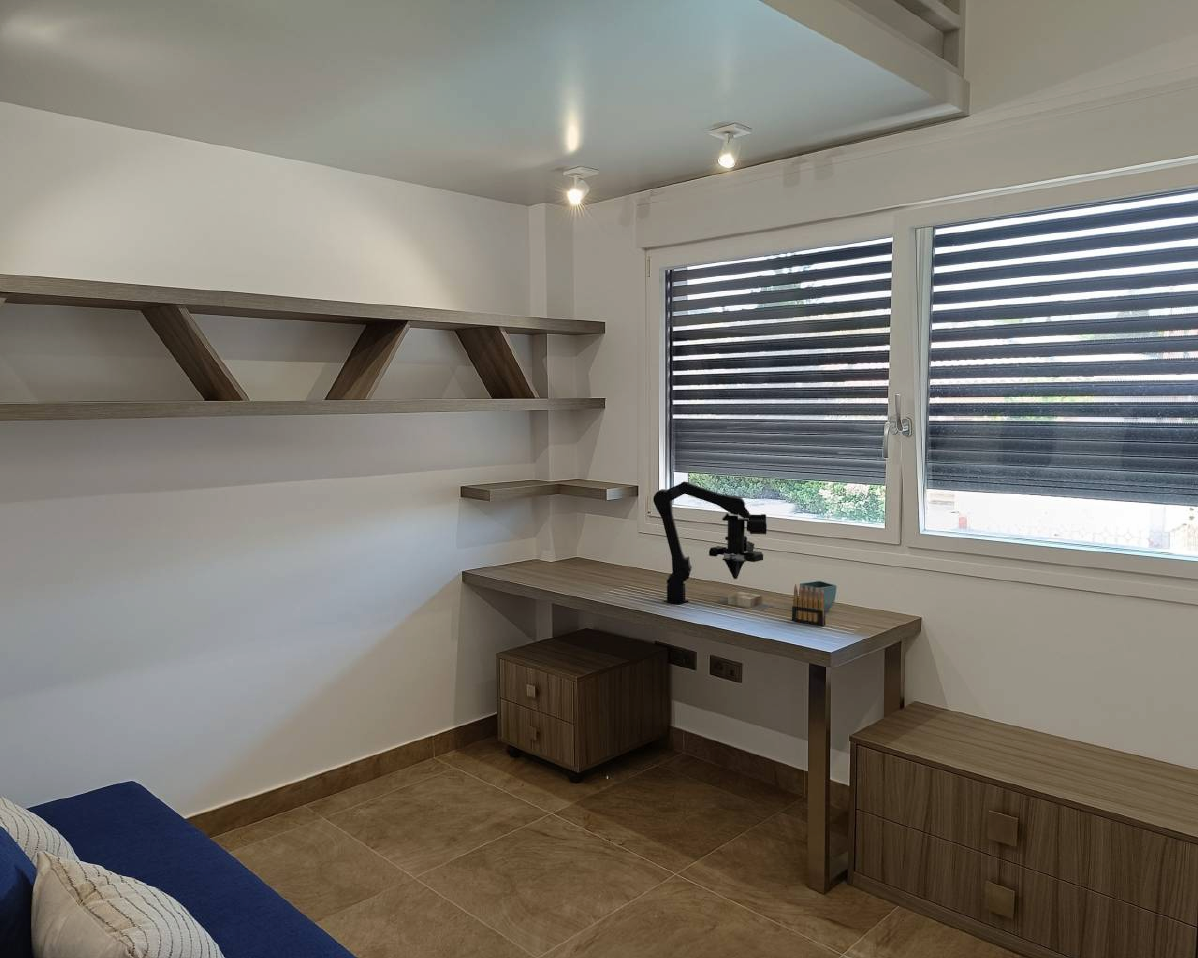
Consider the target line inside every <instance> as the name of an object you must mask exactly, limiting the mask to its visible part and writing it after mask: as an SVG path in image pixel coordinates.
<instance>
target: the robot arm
mask: <svg viewBox="0 0 1198 958" xmlns="http://www.w3.org/2000/svg"><path fill="white" fill-rule="evenodd" d="M683 495H688V496H690V497H692V498H696V499H699V500H701V501H704V502H706V503H707V502H708V503H711V504H713V505H716V506H717V507H719V508H721V509H723V510H724V511H727V512H726V514H724V516H723V517H722V519H721V520H722V522H723V521H727V536H725V537H724V540H725V541H727V543H726V545H727V546H721V545H716V546H712V547H710V548H709V550H708V556H710V557H718V555H723V558H722V561H724V562H725V564H726V566H727V568H728V570H729V572H730V574H731V577H732V578H733V580H737V579H738V578H739V575H740V573H741V569H742V567H743V565H744V563H745V562H750V563H756V562H757V563H758V562H761V561H764V554H763V552H762V551H757V550H754V549H755V543H753V542H751V541H749V540H748V536H745V534H746V533H745V530H746V532H748V533H749V534H750V535H767V532H768V531H767V529H768V528H767V527H768V526H767V524H768V523H767V514H765V513H762V514H751V512H750V511H748V508H747V507H746V503H745V500H744V499H743V498H742V497H741V496H737V495H731V494H723V493H719V492H716V491H713V490H710V489H707V488H704V487H701V486H698V485H695V484H692V483H690V482H689V481H685V480H684V481H682V482H680V483H678V484H677V485H674V486H672V487H670V488H668V489H665V488H662V489H659V490H658V491H656V492H655V494H654V495H653V499H652V500H653V503H654V506H655V508H656V510H657V512H658V514H659V516H660V517H661V521H662V524H663V529H664V531H665V535H666V539H667V544H668V546H669V547H668V548H669V551H670V554H671V567H672V568H671V570H672V572H671V574H669V575H668V577H667V579H666V599H665V600H663V603H666V604H671V605H672V604H673V605H681V604H684V603H688V602H690V601H689V599H686V583H684V582H687V580H688V579H689V577H690V575H691V571H692V569H693V566H692V565H691V562H690V556H687V557H685V555H684V553H683V548H682V546H681V542H680V537H679V534H678V530H677V526H676V523H675V519H674V515H673V501H674V500H675V499H677V498H679V497H681V496H683ZM729 513H730V514H729ZM731 514H732V515H731ZM739 516H740V517H739ZM745 523H746V526H745ZM745 527H746V529H745Z"/></svg>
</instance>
